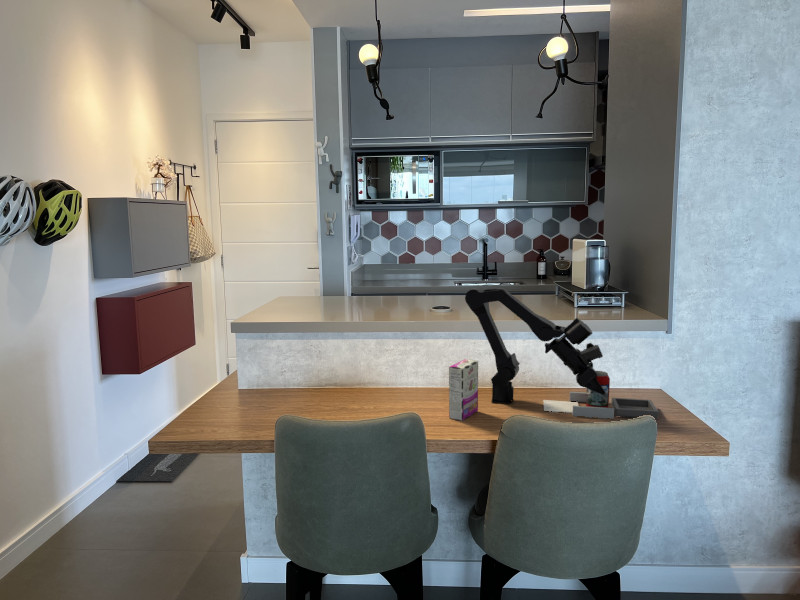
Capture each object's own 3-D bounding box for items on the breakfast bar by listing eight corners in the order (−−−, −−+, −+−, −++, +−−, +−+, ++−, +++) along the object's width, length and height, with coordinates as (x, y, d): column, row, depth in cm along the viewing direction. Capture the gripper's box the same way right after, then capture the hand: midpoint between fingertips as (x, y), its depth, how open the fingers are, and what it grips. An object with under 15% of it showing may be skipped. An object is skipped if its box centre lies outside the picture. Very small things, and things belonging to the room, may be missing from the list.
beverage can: (585, 411, 191) (586, 374, 190) (587, 405, 197) (588, 369, 196) (607, 414, 189) (609, 376, 187) (608, 407, 195) (610, 371, 193)
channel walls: (572, 416, 187) (573, 406, 186) (569, 400, 203) (569, 391, 202) (613, 418, 184) (614, 409, 184) (607, 402, 200) (607, 393, 200)
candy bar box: (463, 408, 194) (464, 358, 192) (478, 411, 191) (479, 360, 189) (447, 418, 184) (448, 365, 182) (462, 421, 182) (463, 368, 180)
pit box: (616, 416, 186) (616, 408, 186) (611, 404, 198) (611, 397, 197) (658, 419, 184) (658, 411, 183) (650, 407, 195) (650, 399, 195)
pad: (544, 411, 191) (544, 410, 191) (543, 401, 202) (543, 399, 202) (580, 413, 189) (580, 412, 189) (577, 403, 199) (577, 402, 199)
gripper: (590, 342, 182) (627, 380, 181) (584, 331, 200) (618, 365, 199) (561, 367, 184) (598, 404, 184) (559, 353, 202) (592, 387, 202)
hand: (602, 389), depth 192 cm, fingers open, 9 cm apart
